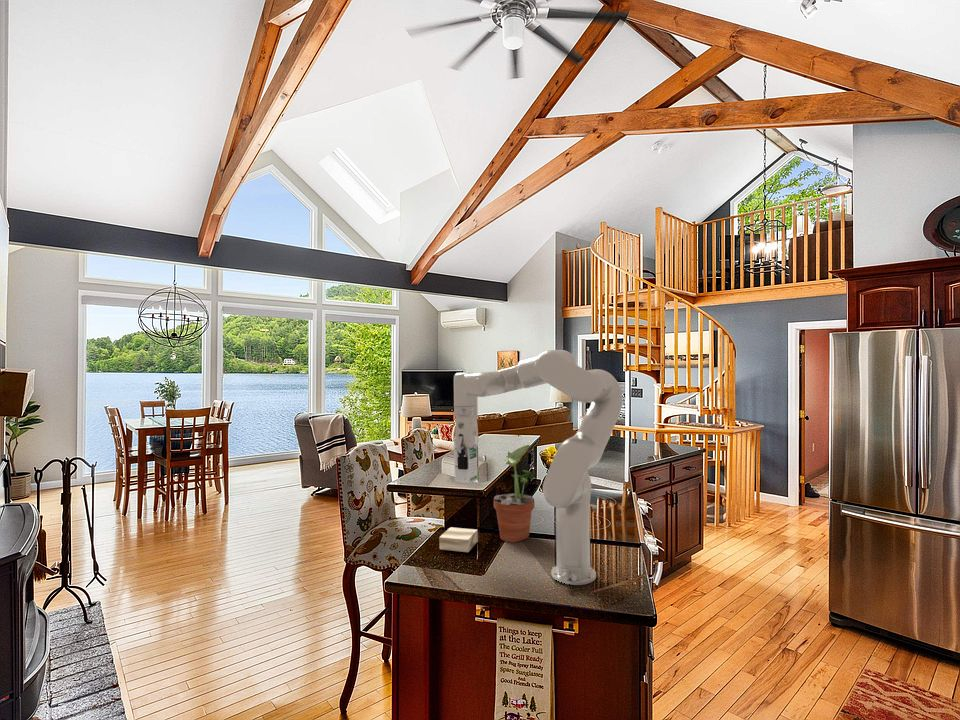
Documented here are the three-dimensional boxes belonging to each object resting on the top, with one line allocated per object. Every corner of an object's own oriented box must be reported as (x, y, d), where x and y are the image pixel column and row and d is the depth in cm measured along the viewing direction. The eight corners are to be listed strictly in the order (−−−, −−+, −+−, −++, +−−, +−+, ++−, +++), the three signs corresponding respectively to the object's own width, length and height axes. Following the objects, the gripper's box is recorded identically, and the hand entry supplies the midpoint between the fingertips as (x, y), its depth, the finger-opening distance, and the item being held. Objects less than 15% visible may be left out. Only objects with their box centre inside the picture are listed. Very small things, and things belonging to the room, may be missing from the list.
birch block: (468, 552, 168) (467, 540, 168) (439, 549, 172) (439, 537, 171) (477, 541, 178) (477, 529, 178) (450, 538, 181) (450, 527, 181)
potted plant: (545, 534, 182) (543, 435, 182) (518, 547, 171) (516, 441, 171) (511, 525, 193) (509, 431, 192) (483, 536, 182) (481, 437, 181)
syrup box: (469, 484, 163) (469, 437, 163) (453, 481, 166) (453, 436, 166) (479, 479, 168) (478, 435, 168) (463, 477, 171) (463, 433, 171)
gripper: (468, 414, 157) (469, 473, 158) (484, 408, 174) (485, 461, 175) (445, 414, 160) (446, 472, 160) (463, 407, 176) (463, 460, 177)
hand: (466, 466), depth 167 cm, fingers closed on syrup box, 6 cm apart
